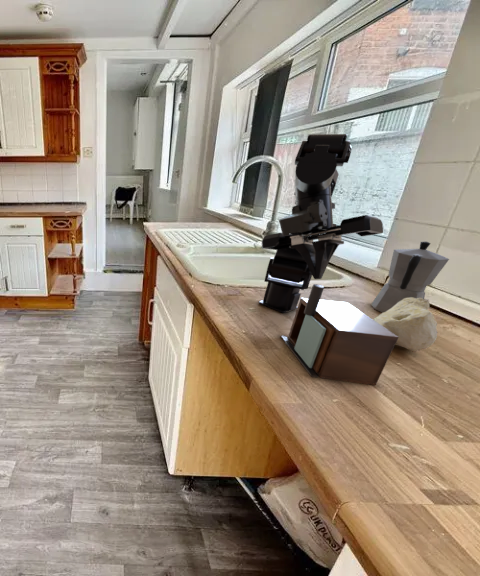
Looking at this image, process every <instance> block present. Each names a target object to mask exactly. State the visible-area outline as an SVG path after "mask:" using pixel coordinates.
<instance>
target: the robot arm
mask: <svg viewBox="0 0 480 576" xmlns="http://www.w3.org/2000/svg"><path fill="white" fill-rule="evenodd" d="M347 138H348V134H347V133H322V134H321V133H319V134H314V133H313V134H311V133H310V134H308V136H307V137H306V140H302V141H301V144H300V145H299V149H298V151H297V154H296V156H295V159H294V166H295V171H294V172H295V174H294V181H293V182H294V194H293V195H294V199H295V201H294V204H295V205H293V206H292V208H291V214H289V215H286V216H284V217H282V218H280V219H278V221H279V222H278V223H279V226H280V227H279V228H280V230H281V232H276V233H272V234H267V235H264V236H263V238H262V240H261V249H262V250H272V251H275V254H274V256H273V257H270V258H269V261H268V264H267V268H266V272H265V276H264V282H265V283H267V285H266V288H265V292H264V295H263V299H261V300H259V301H258V304H260V305H262V306H264V307H267V308H269V309H271V310H273V311H276V312H278V313H281V314H286V313H288V312H292V311H295V310H297V308H298V305H299V302H300V299H301V295H302V294H301V292H300V290H301V291H304V290H308V289H309V285H310V283H311V280H312V278H313V279H314V280H322V279H323V276H324V274H325V273H326V272H325V271H326V269H327V268H328V265H329V263H330V261H331V259H332V257H333V255H334V254H335V252H336V251H337V249H338V247H339V246H340V245H344V244H345V241H344V240H343V238H342V236H345V235H351V234H356V235H358V236H359V237H368V236H375V235H381V234H383V233H384V224H383V221H382V220H381V219H380V218H379V217H376V216H372V215H369V214H363V215H358V216H354V217H349V218H345V219H342V220H341V222H340V224H339V225H337V224H336V223H334V217H333V210H334V209H336V203H334V202H332V197H333V194H334V191H335V189H336V185H337V182H338V178H339V176H340V174H339V171H338V169H337V167H343V166H344V164H348V163H349V161H350V158H351V153H352V150H353V147H352V145H351V144H352V142H351V140H347Z"/></svg>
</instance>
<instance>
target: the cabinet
mask: <svg viewBox="0 0 480 576" xmlns="http://www.w3.org/2000/svg"><path fill="white" fill-rule="evenodd" d="M308 298H309V297H308ZM308 298H307V297H300V298H299V301H298V304H297V307H298V308H297V309H296V311H295V314H294V317H293V319H292V324H291V327H290V330H289V332H288V335H287V336H286V335H280V338H281V340H282V341H283V342H284V343H285V345H286V346H287V348H288V349H289V350H290V351H291V353H292V354H293V356H294V357H295V358H296V359H297V361H298V362H299V363H300V364H301V366H302V367H303V368H304V370H305V371H306V372H307V373H308V375H309V376H310V377H311V378H318V377H319V378H320V379H326V380H334V381H341V382H348V383H349V382H350V383H356V384H365V385H372V386H376V385H377V382H378V381H379V379H380V377H381V375H382V374H383V371H384V368H385V367H386V365H387V362H388V360H389V358H390V356H391V355H392V352H393V350H394V348H395V346H396V342H397V340H398V338H399V337H398V336H396V335H395V334H393V333H392V332H390V331H389V330H387V329H386V328H385V327H383V326H382V325H380V324H379V323H377V322H376V321H374V320H373V319H374V318H371V317H370V316H369V315H367V314H366V313H364V312H363V311H361V309H358V308H357V307H356V306H354V305H352V304H351V303H349V302H348V301H339V300H329V299H320V301H319V304H318V306H317V309H316V312H315V315H314V316H313V317H314V318H315V319H316V320H317V321H318V322H319V323H320V324H321V325H322V326H323V327H325V328H326V331H325V334H324V337H323V339H322V342H321V345H320V347H319V350H318V353H317V355H316V358H315V361H314V363H313V366H312V368H309V367H308V365H307V364H306V363H305V362H304V360H303V359H302V358H301V357H300V355H299V354H298V353H297V352H296V350H295V349H294V348H295V345H296V342H297V339H298V336H299V333H300V330H301V327H302V324H303V321H304V318H305V315H306V314H304V310H305V307H306V304H307V301H308Z"/></svg>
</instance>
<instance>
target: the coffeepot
mask: <svg viewBox="0 0 480 576" xmlns="http://www.w3.org/2000/svg"><path fill="white" fill-rule="evenodd" d="M430 245H431V242H430V241H425V240H424V241H420V244H419V248H402V249H401V248H400V249H399V248H398V249H397V248H396V249H393V252H392V257H391V261H390V266H389V270H388V277H389V279H388V281H387V282H386V283H385V284H384V285H383V286H382V288H381V289H380V290H379V292H378V294H377V295H376V296H375V298H374V299H373V301H371V303H370V304H371V306H372V308H373V309H374V310H376V311H378V312H380V313H381V314H382V313H384V312H386V311H387V310H389V309H391V308H392V307H393V306H394V305H396V304H397V303H398V302H399V301H401V300H403V299H404V298H409V297H413V298H416V299H417V298H423V300H424V299H425V297H426V292H425V290H426V289H427V287H428V286H430V285H432V283H433V282H434V280H435V279H436V278H437V277H438V275H439V274H440V273H441V272H442V270H443V269H444V268H445V266H446V264H447V263H448V261H449V260H450V259H449V258H448V257H445V256H444V255H441V254H439V253H436V252H433V251H431V250H427V249H428V248H429V247H430Z"/></svg>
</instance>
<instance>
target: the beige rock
mask: <svg viewBox="0 0 480 576" xmlns="http://www.w3.org/2000/svg"><path fill="white" fill-rule="evenodd" d="M429 308H430V299H429V298H424V300H423V298H417V299H416V298H413V297H409V298H404V299H403V300H401V301H399V302H398V303H397V304H396V305H394V306H393V307H392V308H391V309H389V310H387V311H386V312H384V313H382V312H381V313H379V314H378V315H377V316H376V317H375V318H372V319H373V320H374V321H376V322H377V323H379V324H380V325H382V326H383V327H385V328H386V329H387V330H389V331H390V332H392V333H393V334H395V335H396V336H398V337H399V338H398V340H397V342H396V344H395V346H398V347H402V348H405V349H407V350H408V351H410V352H414V353H415V352H417V351H420V350H427V349H428V348H430V347H431V346H433V344H435V342H436V340H437V339H438V329H437V327H438V322H437V320H436V318H435V316H434V313H432V311H430V310H429Z"/></svg>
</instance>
